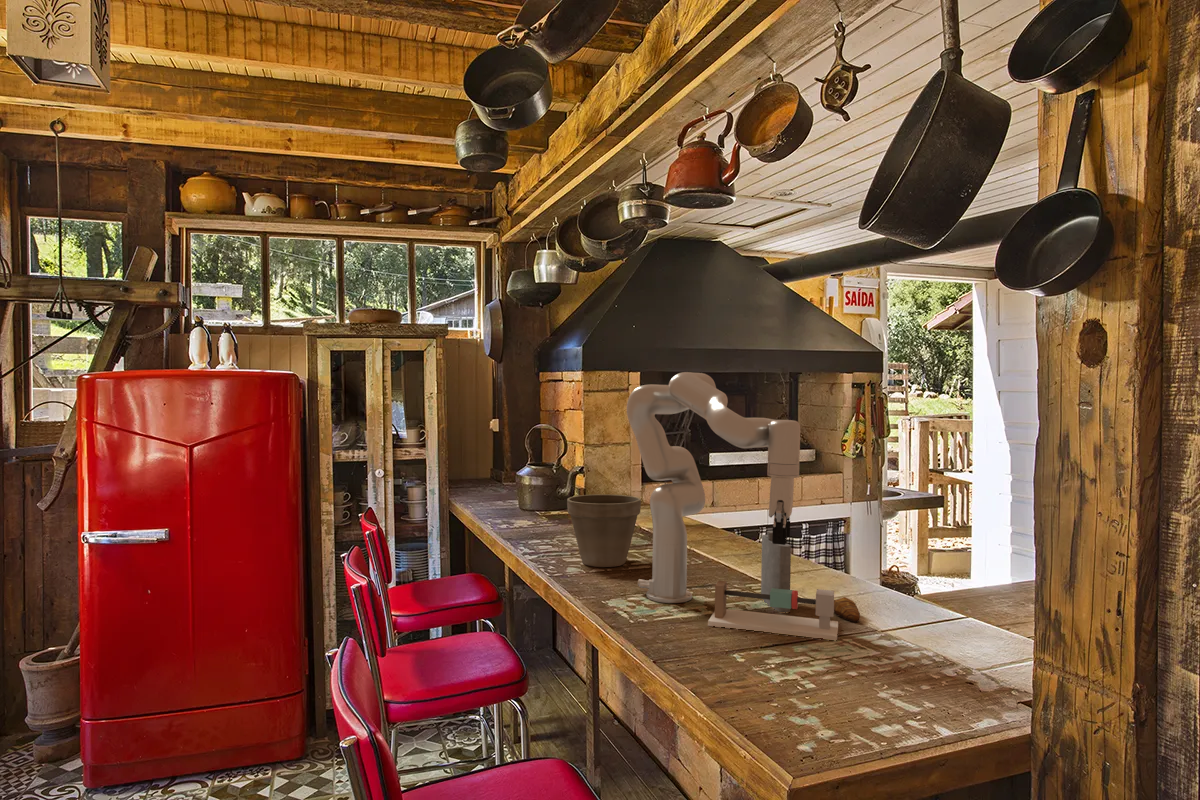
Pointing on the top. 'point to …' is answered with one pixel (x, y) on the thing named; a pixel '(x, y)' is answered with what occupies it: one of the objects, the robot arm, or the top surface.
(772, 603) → the sleeve
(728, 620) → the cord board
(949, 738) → the top surface
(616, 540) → the plant pot
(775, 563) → the hip flask
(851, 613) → the croissant
